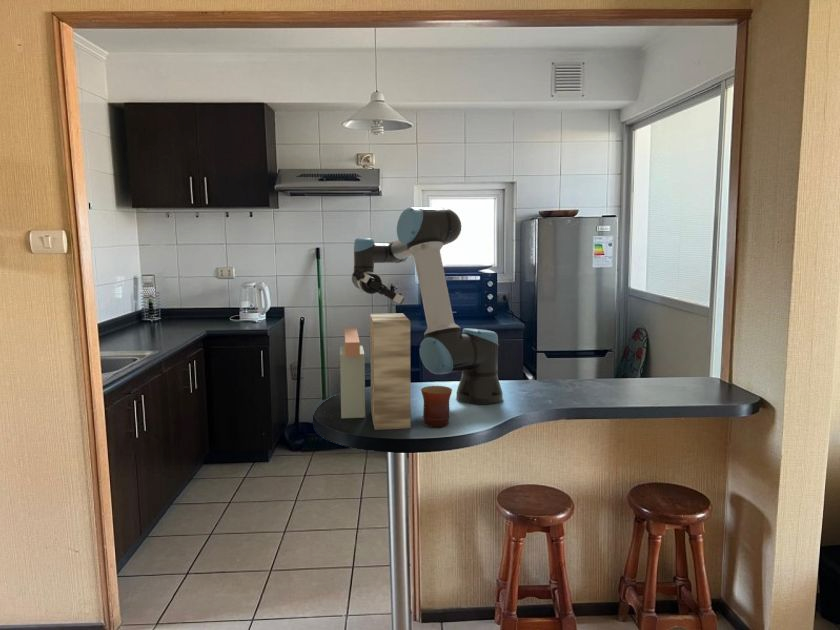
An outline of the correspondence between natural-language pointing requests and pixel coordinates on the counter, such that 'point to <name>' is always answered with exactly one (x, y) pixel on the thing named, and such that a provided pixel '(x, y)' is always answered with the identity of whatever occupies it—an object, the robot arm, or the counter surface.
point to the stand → (390, 371)
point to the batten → (352, 342)
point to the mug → (436, 405)
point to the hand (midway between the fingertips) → (384, 289)
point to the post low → (352, 384)
